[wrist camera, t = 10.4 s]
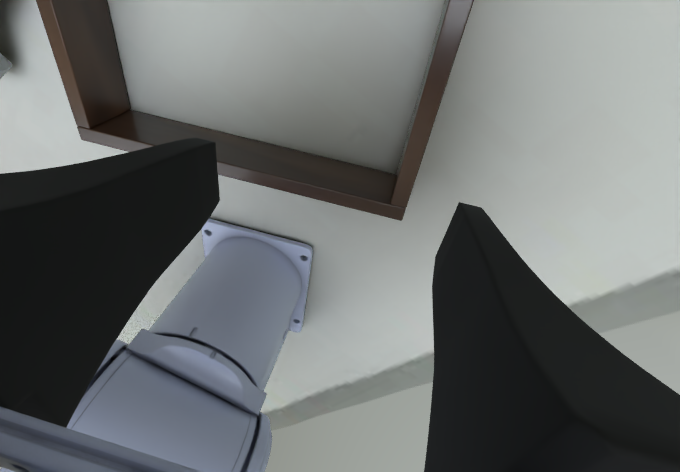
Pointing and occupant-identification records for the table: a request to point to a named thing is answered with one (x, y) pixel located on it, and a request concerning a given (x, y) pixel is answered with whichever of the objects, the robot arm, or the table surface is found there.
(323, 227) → the table surface
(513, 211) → the table surface
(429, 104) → the bin
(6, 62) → the smooth white sculpture
